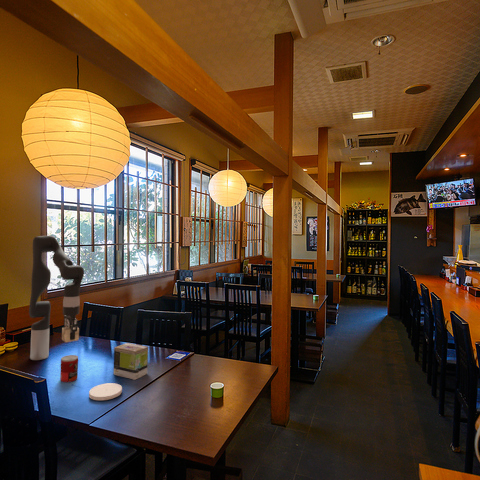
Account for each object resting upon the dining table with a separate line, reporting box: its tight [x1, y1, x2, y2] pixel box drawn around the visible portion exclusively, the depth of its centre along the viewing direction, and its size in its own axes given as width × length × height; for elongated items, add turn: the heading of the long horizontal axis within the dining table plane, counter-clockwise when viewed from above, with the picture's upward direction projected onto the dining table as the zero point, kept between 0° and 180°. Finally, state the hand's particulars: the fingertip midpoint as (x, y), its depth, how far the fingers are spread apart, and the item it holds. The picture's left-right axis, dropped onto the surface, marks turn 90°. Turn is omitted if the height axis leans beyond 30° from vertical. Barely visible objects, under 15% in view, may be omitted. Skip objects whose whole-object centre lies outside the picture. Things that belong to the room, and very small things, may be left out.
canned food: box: [59, 354, 79, 383], centre depth 164 cm, size 8×8×11 cm
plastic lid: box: [88, 382, 123, 401], centre depth 149 cm, size 14×14×2 cm
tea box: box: [113, 342, 149, 381], centre depth 173 cm, size 15×10×15 cm
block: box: [61, 326, 80, 343], centre depth 165 cm, size 6×6×6 cm
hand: (70, 338), depth 164 cm, fingers closed on block, 6 cm apart
